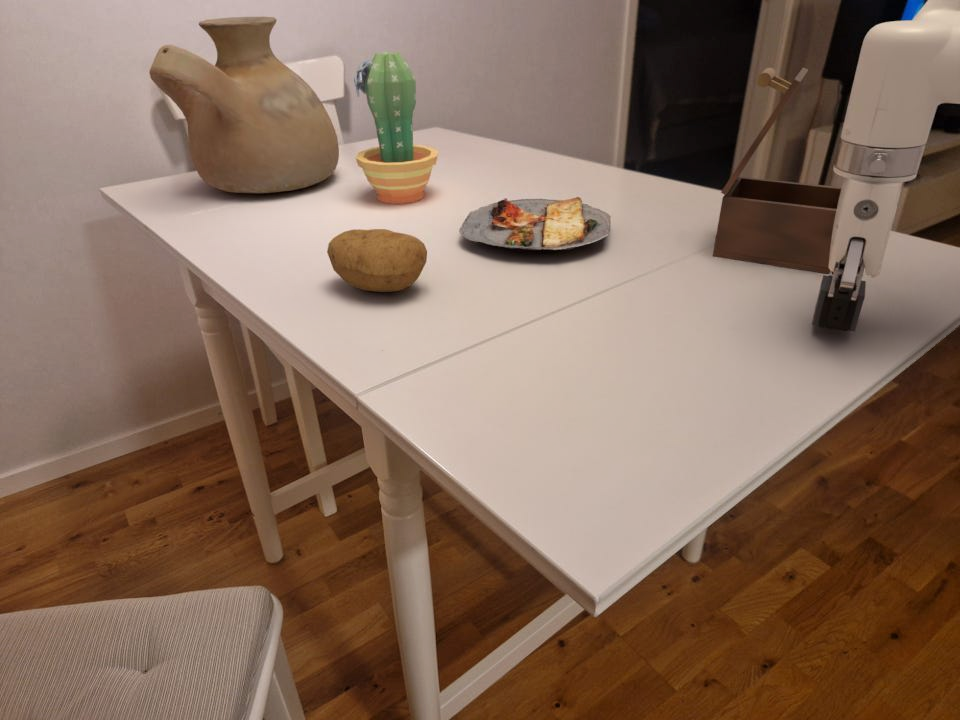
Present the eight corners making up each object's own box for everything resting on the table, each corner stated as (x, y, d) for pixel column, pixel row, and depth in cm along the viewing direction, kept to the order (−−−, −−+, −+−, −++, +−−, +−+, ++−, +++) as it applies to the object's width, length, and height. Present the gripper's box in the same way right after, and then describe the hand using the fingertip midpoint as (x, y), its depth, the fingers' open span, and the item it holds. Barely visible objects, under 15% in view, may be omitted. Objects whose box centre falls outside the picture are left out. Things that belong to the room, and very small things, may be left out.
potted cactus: (406, 180, 135) (395, 46, 122) (458, 195, 125) (452, 51, 112) (343, 197, 125) (325, 54, 112) (394, 215, 116) (380, 60, 103)
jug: (371, 175, 138) (354, 14, 123) (237, 220, 115) (194, 29, 100) (282, 157, 153) (256, 12, 138) (146, 195, 130) (97, 25, 114)
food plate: (480, 207, 119) (479, 187, 117) (610, 212, 115) (612, 192, 113) (448, 259, 98) (447, 237, 96) (607, 268, 94) (609, 244, 92)
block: (856, 315, 77) (866, 280, 74) (854, 332, 73) (865, 296, 71) (814, 308, 78) (823, 274, 76) (811, 324, 75) (820, 289, 73)
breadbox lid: (808, 69, 90) (775, 53, 91) (800, 82, 82) (764, 63, 82) (739, 174, 101) (710, 158, 102) (725, 195, 92) (694, 177, 93)
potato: (355, 268, 96) (348, 215, 92) (441, 282, 91) (438, 226, 87) (315, 295, 88) (306, 238, 84) (407, 312, 83) (402, 252, 79)
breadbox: (834, 245, 99) (849, 188, 95) (829, 273, 90) (846, 211, 86) (726, 231, 105) (736, 176, 101) (712, 255, 97) (722, 197, 92)
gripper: (923, 185, 59) (869, 360, 68) (917, 142, 71) (872, 294, 81) (830, 177, 62) (791, 345, 71) (840, 137, 74) (805, 285, 84)
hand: (834, 317), depth 76 cm, fingers closed on block, 4 cm apart
